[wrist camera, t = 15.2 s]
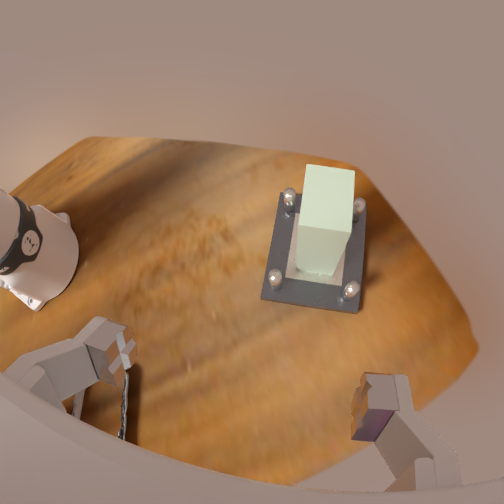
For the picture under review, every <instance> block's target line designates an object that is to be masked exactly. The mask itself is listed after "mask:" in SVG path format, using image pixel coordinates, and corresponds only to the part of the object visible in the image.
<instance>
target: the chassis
mask: <svg viewBox="0 0 504 504" xmlns="http://www.w3.org/2000/svg"><path fill="white" fill-rule="evenodd" d="M301 201H302V195H297V194H296V192H295V190H294V189H293V188H286V189H285V190H284V193H280V198H279V203H278V209H277V214H276V220H275V225H274V230H273V236H272V241H271V246H270V252H269V257H268V262H267V267H266V272H265V278H264V283H263V288H262V293H261V300H266V301H272V302H278V303H285V304H291V305H297V306H304V307H310V308H317V309H324V310H331V311H338V312H345V313H352V314H357V313H358V309H359V300H360V291H361V281H362V271H363V259H364V246H365V230H366V209H367V205H366V202H365V200H364V199H363V198H356V199H355V201H354V203H353V216H352V230H351V235H350V237H349V239H348V242H347V244H346V246H345V249H344V251H343V253H342V255H341V258H340V260H339V262H338V264H337V267H336V269H335V271H334V273H333V275H326V274H320V273H313V272H306V271H300V270H296V254H297V236H298V222H299V214H300V208H301Z"/></svg>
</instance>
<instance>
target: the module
mask: <svg viewBox="0 0 504 504" xmlns="http://www.w3.org/2000/svg"><path fill="white" fill-rule="evenodd" d="M354 178H355V171H352V170H346V169H340V168H333V167H326V166H319V165H311V164H307V166H306V173H305V180H304V187H303V194H302V201H301V208H300V214H299V222H298V236H297V254H296V270H300V271H306V272H313V273H320V274H326V275H333V273H334V271H335V269H336V267H337V264H338V262H339V260H340V258H341V255H342V253H343V251H344V249H345V246H346V244H347V242H348V239H349V237H350V235H351V230H352V216H353V200H354Z"/></svg>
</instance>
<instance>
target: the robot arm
mask: <svg viewBox="0 0 504 504" xmlns="http://www.w3.org/2000/svg"><path fill="white" fill-rule="evenodd" d="M78 254H79V247H78V241H77V238H76V235H75V233H74V232H73V230H72V229H71V225H70V217H69V215H68V214H66V213H56V214H53V213H52V212H50V211H49V210H47V209H46V208H44V207H43V206H41V205H37V206H31V207H29V206H28V205H27V204H26V203H25V202H24V201H22V200H21V199H18V198H17V197H14V196H10V195H9V194H8V193H6V192H5V191H4V190H3V189H1V188H0V286H1V287H3V288H6V289H8V290H10V291H11V292H12V293H13V294H15V295H16V296H17V297H18V298H19V299H20V300H22V301H23V302H24V303H25V304H26V305H27V306H29V307H30V308H31V309H33V310H35V311H39V310H40V309H41V308H42V307H43V306H44V304H45V303H46V302H47V301H48V300H50V299H52V298H54V297H56V296H57V295H59V294H60V293H61V292H62V291H63V290H64V289H65V288H66V286H67V285H68V284H69V282H70V280H71V279H72V277H73V274H74V272H75V269H76V266H77V262H78ZM32 301H33V302H32ZM133 336H134V332H133V328H132V327H131V326H128V325H125V324H122V323H119V322H116V321H113V320H110V319H106V318H104V317H101V316H96V317H94V318H93V319H92V320H91V321H90V322H89V323H88V324H87V325H86V326H85V327H84V328H83V329H82V330H81V331H80V332H79V333H78V334H77V335H76V336H75V337H74V338H73V339H70V338H69V339H66V340H63V341H61V342H58V343H55V344H52V345H49V346H46V347H43V348H40V349H37V350H34V351H31V352H29V353H26V354H23V355H21V356H20V357H19V358H18V359H17V360H16V361H15V362H14V363H13V364H12V365H11V366H10V367H9V368H8V369H7V370H6V371H5V372H4V373H2V372H0V504H504V477H503V478H498V479H494V480H489V481H485V482H480V483H474V484H468V485H462V479H461V473H460V467H459V460H458V455H457V454H456V452H454V450H453V449H452V448H451V447H450V446H449V445H448V444H447V443H446V442H445V440H444V439H443V438H442V437H441V436H440V435H439V434H438V433H437V432H436V431H435V430H434V428H433V427H432V426H431V425H430V424H429V423H428V422H427V421H426V420H425V419H424V418H423V416H422V415H421V414H420V413H419V412H414V407H413V402H412V396H411V391H410V386H409V380H408V377H407V375H400V374H385V373H373V372H364V373H363V374H362V376H361V379H360V386H359V387H358V388H356V391H355V393H354V396H353V400H352V407H351V414H352V415H353V417H354V420H353V422H352V424H351V440H356V441H367V442H375V443H374V444H375V445H376V447H377V448H378V450H379V452H380V453H381V455H382V457H383V458H384V460H385V462H386V463H387V465H388V466H389V468H390V470H391V471H392V473H393V475H394V476H395V478H396V479H397V480H396V481H395V482H394V483H393V484H392V485H391V486H390V487H389V488H387V489H386V490H385V491H384V492H352V491H333V490H321V489H311V488H302V487H294V486H287V485H280V484H274V483H268V482H262V481H257V480H252V479H247V478H242V477H238V476H233V475H229V474H225V473H221V472H217V471H213V470H209V469H206V468H202V467H198V466H195V465H192V464H188V463H185V462H182V461H179V460H176V459H172V458H169V457H167V456H164V455H161V454H158V453H155V452H152V451H150V450H147V449H144V448H142V447H139V446H137V445H134V444H132V443H129V442H127V441H124V440H122V439H120V438H117V437H115V436H113V435H110V434H108V433H106V432H104V431H102V430H99V429H97V428H95V427H93V426H91V425H89V424H87V423H85V422H83V421H81V420H79V419H77V418H75V417H73V416H71V415H69V414H68V413H67V412H66V409H65V407H64V405H63V404H62V402H61V401H63V400H65V399H67V398H69V397H71V396H72V395H74V394H76V393H78V392H80V391H82V390H83V389H85V388H87V387H89V386H91V385H93V384H94V383H96V382H98V380H100V381H102V382H105V383H108V384H111V385H113V386H116V387H117V386H118V385H119V383H120V382H121V381H122V379H123V378H124V376H125V370H126V369H128V368H130V367H132V365H133V364H134V362H135V360H136V356H137V345H136V343H135V342H134V340H133V339H132V337H133Z"/></svg>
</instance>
